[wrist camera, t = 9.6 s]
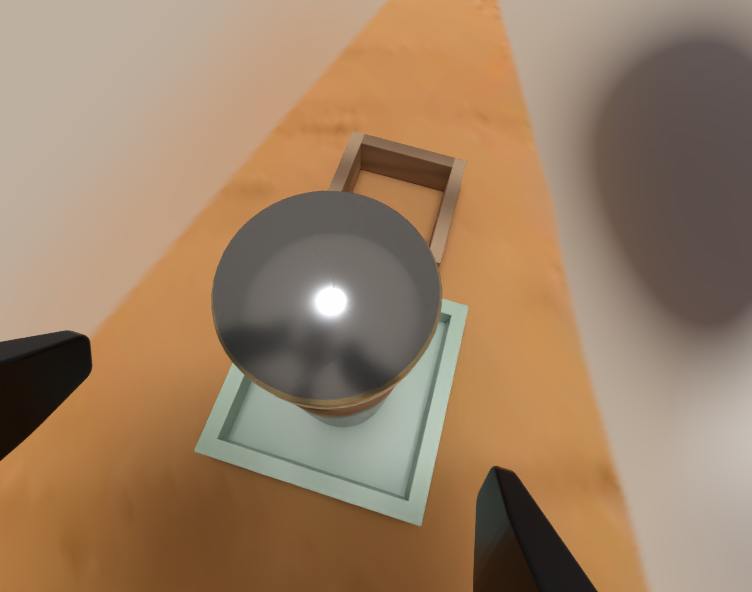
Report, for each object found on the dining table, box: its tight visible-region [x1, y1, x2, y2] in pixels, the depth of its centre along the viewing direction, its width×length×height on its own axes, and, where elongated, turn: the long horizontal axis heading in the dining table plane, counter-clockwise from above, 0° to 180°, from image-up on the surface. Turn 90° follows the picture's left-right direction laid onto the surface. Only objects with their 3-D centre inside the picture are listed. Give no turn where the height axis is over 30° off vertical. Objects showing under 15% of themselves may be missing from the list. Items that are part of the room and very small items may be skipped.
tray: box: [194, 299, 469, 526], centre depth 20 cm, size 11×11×2 cm
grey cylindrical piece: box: [211, 191, 442, 427], centre depth 14 cm, size 5×5×13 cm
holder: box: [328, 131, 467, 268], centre depth 24 cm, size 8×8×2 cm
